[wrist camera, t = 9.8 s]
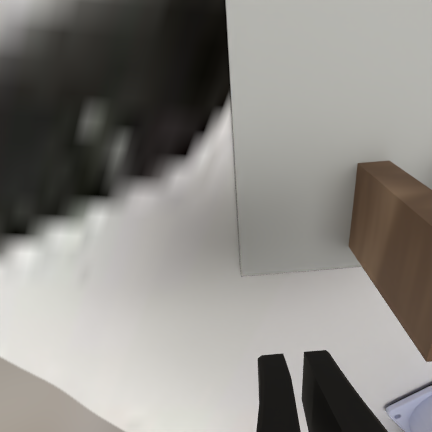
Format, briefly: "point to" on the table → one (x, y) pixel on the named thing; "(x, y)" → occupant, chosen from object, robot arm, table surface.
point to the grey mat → (322, 119)
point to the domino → (396, 244)
